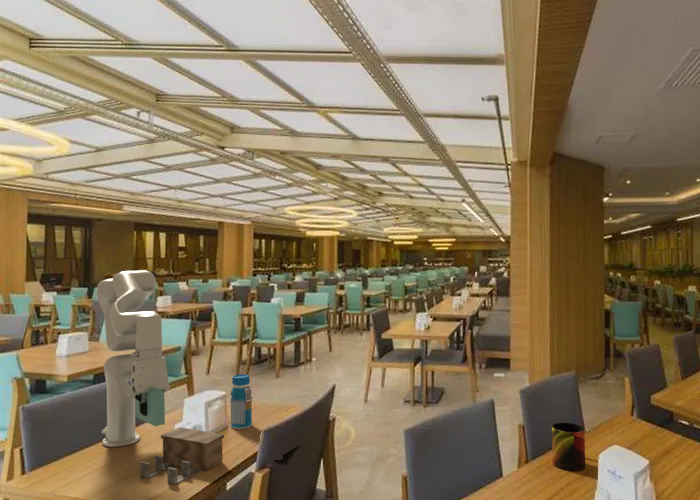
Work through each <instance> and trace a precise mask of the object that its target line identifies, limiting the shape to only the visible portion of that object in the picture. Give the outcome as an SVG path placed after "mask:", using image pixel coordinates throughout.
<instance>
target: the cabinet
mask: <svg viewBox="0 0 700 500" xmlns="http://www.w3.org/2000/svg"><path fill="white" fill-rule="evenodd" d="M224 438H225V435H224V434H223V433H222V434H221V433H218V432H217V433H216V432H210V431H203V430H199V429H191V428H186V427H180V426H179V427H177V428H175V429H172V430H170V431H168V432H166V433H163V434H161V435H160V439H162V455H157V454H156V455H154V469H151V463H150V462H148V461H147V462H146V461H141V462H140V478H144V479H150V478H152V477H154V476H157V475H158V474H160V473H161V472H163V471H165V470H167V484H170V485H174V486H175V485H176V486H177V485H178V484H180V483H182V482H183V481H185V480H187V479H189V478H191V477H193V476H194V475H196V474H197V473H199V472H201V471H203V472H208V471H209V470H211V469H214V468H215V467H217V466H218V465H221V464H222V463H223V439H224ZM173 466H176V467H177V466H178V467H181V474H180V475H178V468H175V467H173Z"/></svg>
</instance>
